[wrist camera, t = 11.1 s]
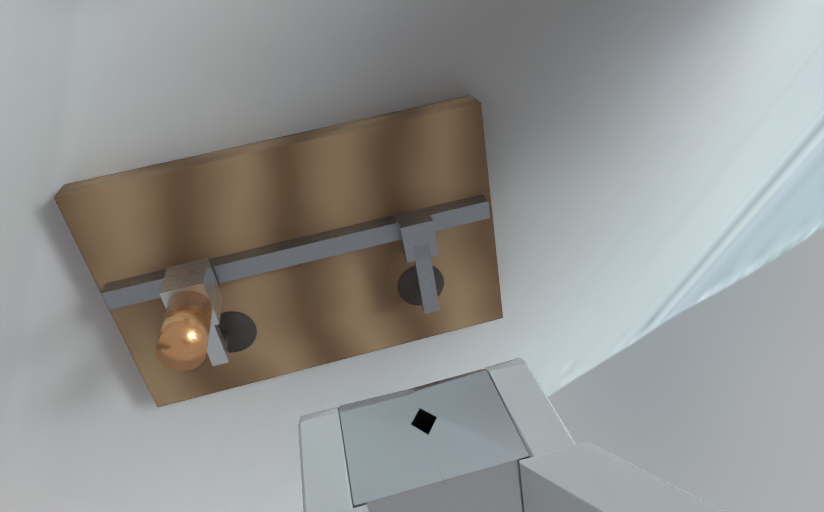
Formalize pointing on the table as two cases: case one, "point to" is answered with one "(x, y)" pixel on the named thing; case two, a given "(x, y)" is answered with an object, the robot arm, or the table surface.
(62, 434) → the table surface
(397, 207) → the brown wooden board
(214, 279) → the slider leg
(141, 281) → the bar
